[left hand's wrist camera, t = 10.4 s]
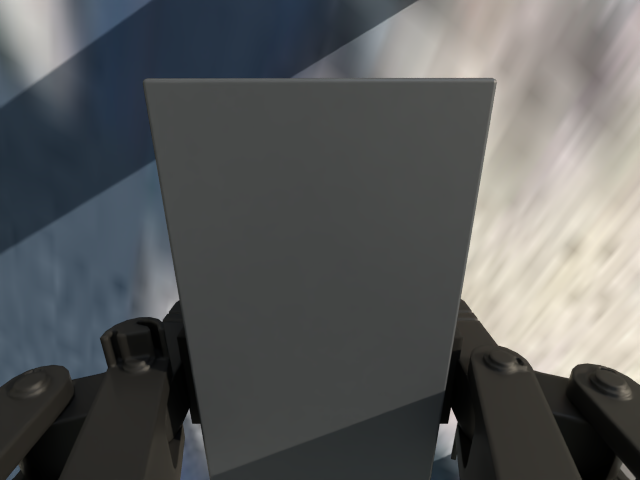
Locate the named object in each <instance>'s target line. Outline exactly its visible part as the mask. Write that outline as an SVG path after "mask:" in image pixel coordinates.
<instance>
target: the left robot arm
mask: <svg viewBox="0 0 640 480" xmlns="http://www.w3.org/2000/svg"><path fill="white" fill-rule="evenodd" d="M100 340H101V344H102V348H103V351H104V355H105V358H106V362H107V366H108V369H107V372H104V373H101V374H97V375H92V376H88V377H83V378H78V379H74V380H71V377H70V374H69V371H68V370H67V369H66V368H65V367H63V366H58V365H50V366H42V367H38V368H35V369H31V370H29V371H26V372H24V373H22V374H20V375H18V376H16V377H14V378H13V379H11V380H10V381H8V382H7V383H6V384H4V385H3V386H1V387H0V480H6V479H7V477H8V476H9V475H10V474H11V473H12V471H13V470H14V469H15V468H16V466H17V465H19V467H20V469H21V470H20V471H19V473H18V474H17V475H16V476H15V477H14V478H13V479H12V480H180V476H181V467H182V459H183V450H184V441H185V435H184V428H183V421H184V419H185V417H186V415H187V412H188V410H189V408H190V414H191V419H192V424H201V423H200V417H199V411H198V406H197V400H196V394H195V388H194V382H193V376H192V370H191V364H190V358H189V353H188V347H187V341H186V335H185V329H184V323H183V317H182V311H181V305H180V300H179V301H178V302H176V303H175V305H174V306H173V307H172V309H171V310H170V311H169V314H167V315H166V316H165V318H164V319H163V322H161V321H160V320H159V319H156V318H151V317H139V318H135V319H130V320H126V321H124V322H121V323H119V324H117V325H115V326H113V327H112V328H110V329H109V330H107V331H106V332H105V333H104V334H103V335H102V336H101V338H100ZM451 408H452V410H453V412H454V415H455V417H456V419H457V421H458V423H457V428H456V433H455V438H454V444H453V449H452V455H451V459H453V460H456V455H457V458H458V467H459V475H460V480H630V479H629V478H628V477H627V476H626V475H625V474H624V473H623V471H622V470H621V469H620V468H621V465H622V463H623V464H624V465H625V466H626V467H627V468H628V469H629V471H630V472H631V473H632V474H633V475H634V477H635V478H636V479H635V480H640V385H639V384H638V383H636V382H635V381H633V380H632V379H631V378H629V377H628V376H626V375H624V374H622V373H620V372H618V371H616V370H614V369H611V368H607V367H605V366H601V365H595V364H580V365H577V366H576V367H574V368H573V369H572V372H571V375H570V378H564V377H560V376H555V375H550V374H546V373H541V372H538V371H534V370H533V369H532V367H531V365H530V364H529V363H528V361H527V360H526V359H525V358H523V357H522V356H521V355H519V354H518V353H516V352H514V351H512V350H510V349H508V348H505V347H501V346H498V345H497V344H496V342H495V341H494V340H493V338H492V337H491V336H490V334H489V333H488V332H487V330H486V329H485V328H484V327H483V325H482V324H481V323H480V321H478V320H477V317H476V316H475V315H474V313H472V311H471V309H470V308H469V307H468V305H467V304H466V303H465V301H463V300H462V299H460V305H459V311H458V317H457V323H456V329H455V335H454V341H453V347H452V353H451V359H450V365H449V371H448V377H447V383H446V389H445V395H444V401H443V407H442V413H441V419H440V424H448V421H449V415H450V410H451Z"/></svg>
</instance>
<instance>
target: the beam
mask: <svg viewBox="0 0 640 480" xmlns="http://www.w3.org/2000/svg"><path fill="white" fill-rule="evenodd" d="M143 87H144V93H145V99H146V105H147V111H148V117H149V123H150V129H151V135H152V140H153V146H154V152H155V158H156V164H157V170H158V176H159V182H160V188H161V193H162V199H163V205H164V211H165V217H166V223H167V229H168V235H169V241H170V246H171V252H172V258H173V264H174V270H175V276H176V282H177V288H178V294H179V299H180V305H181V311H182V317H183V323H184V329H185V335H186V341H187V347H188V353H189V358H190V364H191V370H192V376H193V382H194V388H195V394H196V400H197V406H198V411H199V417H200V423H201V429H202V435H203V441H204V447H205V453H206V459H207V464H208V470H209V476H210V480H430V479H431V473H432V467H433V461H434V455H435V449H436V443H437V437H438V431H439V425H440V419H441V413H442V407H443V401H444V395H445V389H446V383H447V377H448V371H449V365H450V359H451V353H452V347H453V341H454V335H455V329H456V323H457V317H458V311H459V305H460V299H461V293H462V287H463V281H464V275H465V269H466V263H467V257H468V251H469V245H470V239H471V233H472V227H473V221H474V215H475V209H476V203H477V197H478V191H479V185H480V179H481V173H482V167H483V161H484V155H485V149H486V143H487V137H488V131H489V125H490V119H491V113H492V107H493V101H494V95H495V89H496V80H495V79H493V78H147V79H145V80H143Z"/></svg>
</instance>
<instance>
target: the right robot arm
mask: <svg viewBox="0 0 640 480" xmlns="http://www.w3.org/2000/svg"><path fill="white" fill-rule="evenodd" d="M620 469H621V470H622V471H623V473H624V474H625V475H626V476H627V477H628V478H629V479H630V480H635V479H636V478H635V477H634V475H633V474H632V473H631V472H630V471H629V469H628V468H627V467H626V466H625V465H624V464H623V463H622V465H621V468H620Z"/></svg>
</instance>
